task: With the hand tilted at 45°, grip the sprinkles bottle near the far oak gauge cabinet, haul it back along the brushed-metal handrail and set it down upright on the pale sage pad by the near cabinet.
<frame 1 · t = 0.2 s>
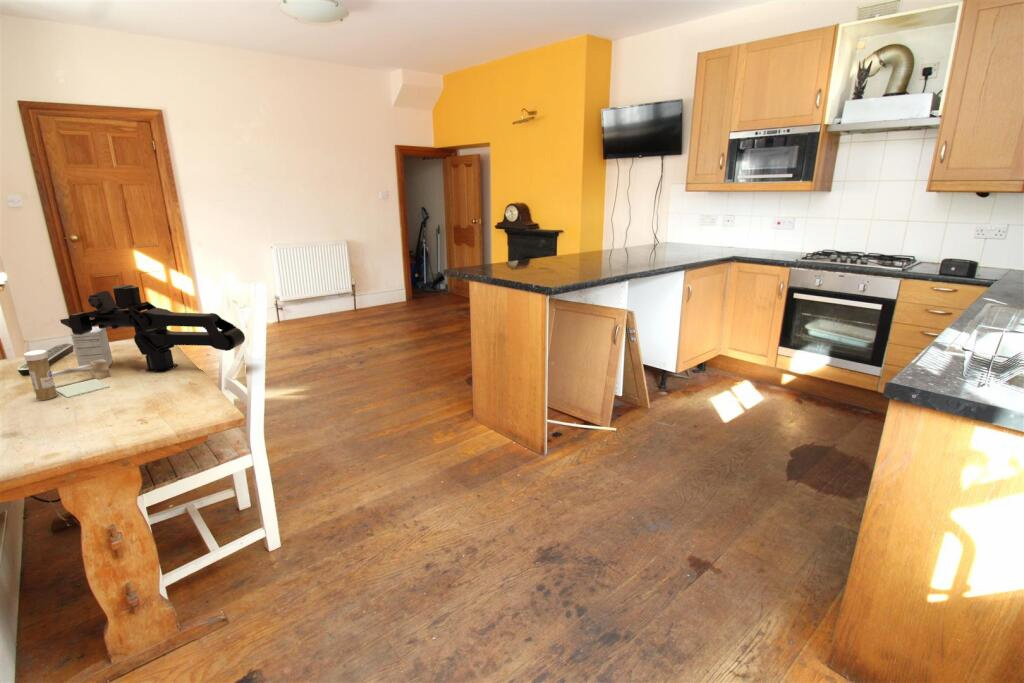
hand: (73, 317, 158), 17 cm above the table, tool horizontal, fingers open, 9 cm apart
handrail: (74, 383, 150), on the table
sprinkles bottle: (47, 398, 139), on the table
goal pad: (82, 388, 146), on the table
supplement box: (97, 366, 164), on the table
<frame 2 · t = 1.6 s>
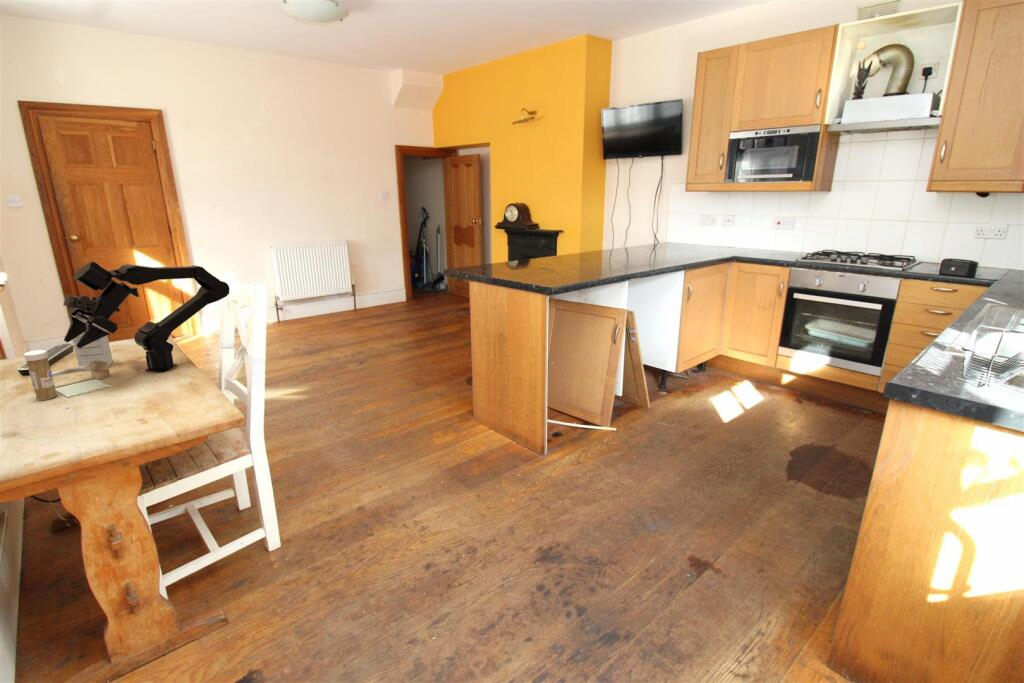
hand: (71, 344, 142), 14 cm above the table, tool tilted 45°, fingers open, 9 cm apart
nothing on the table moved.
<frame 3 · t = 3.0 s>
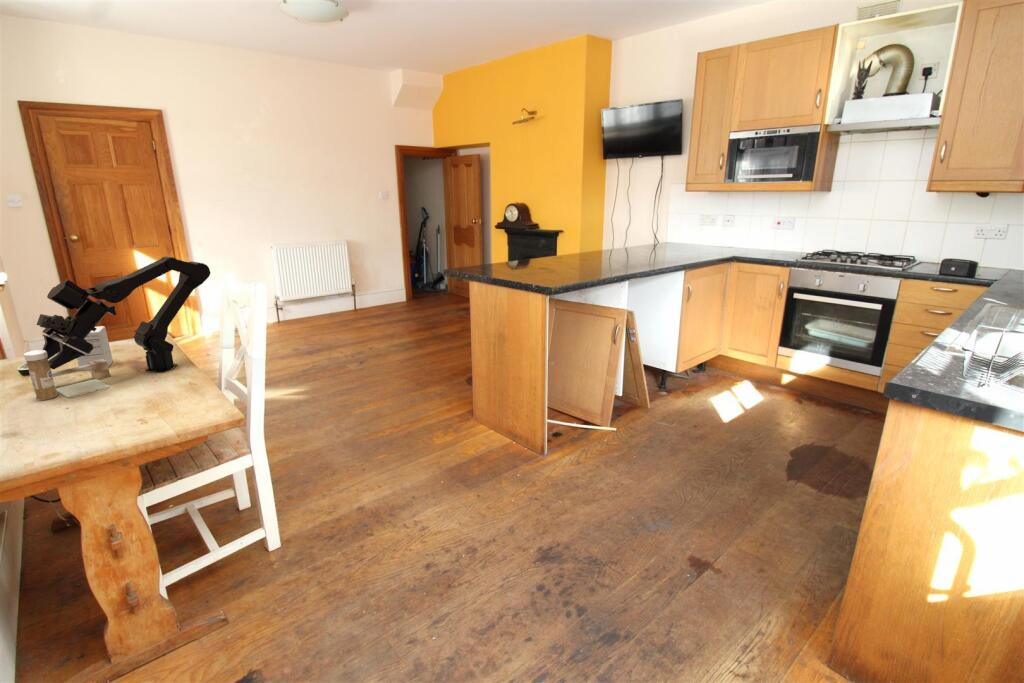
hand: (45, 365, 138), 9 cm above the table, tool tilted 45°, fingers open, 9 cm apart
nothing on the table moved.
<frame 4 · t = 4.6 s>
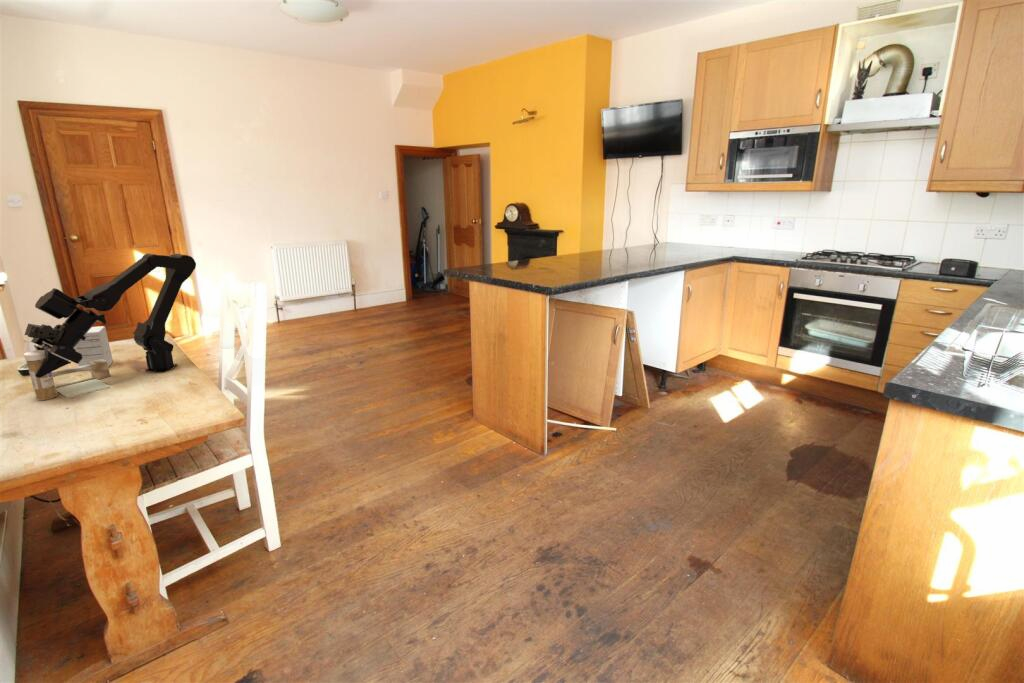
hand: (34, 375, 136), 7 cm above the table, tool tilted 45°, fingers closed on sprinkles bottle, 4 cm apart
sprinkles bottle: (47, 398, 139), on the table, touching gripper
everything else where it was.
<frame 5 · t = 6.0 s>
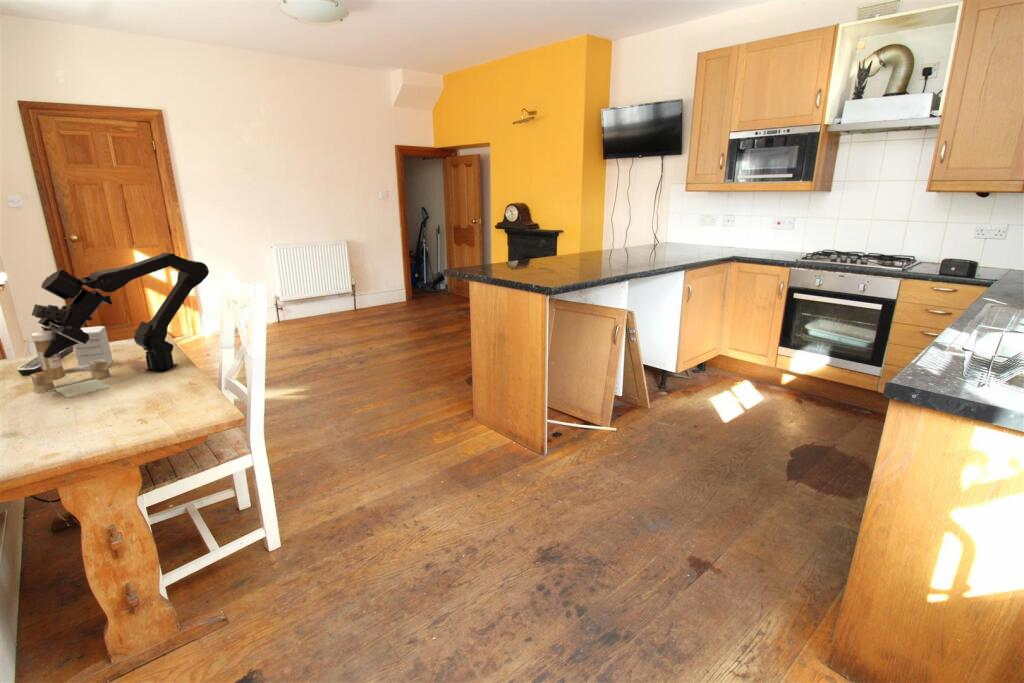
hand: (42, 355, 137), 12 cm above the table, tool tilted 45°, fingers closed on sprinkles bottle, 4 cm apart
sprinkles bottle: (55, 378, 140), point 5 cm above the table, touching gripper
everything else where it was.
when the fingers open (9 cm above the table, at t = 7.9 s): sprinkles bottle drops 1 cm, resting on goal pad.
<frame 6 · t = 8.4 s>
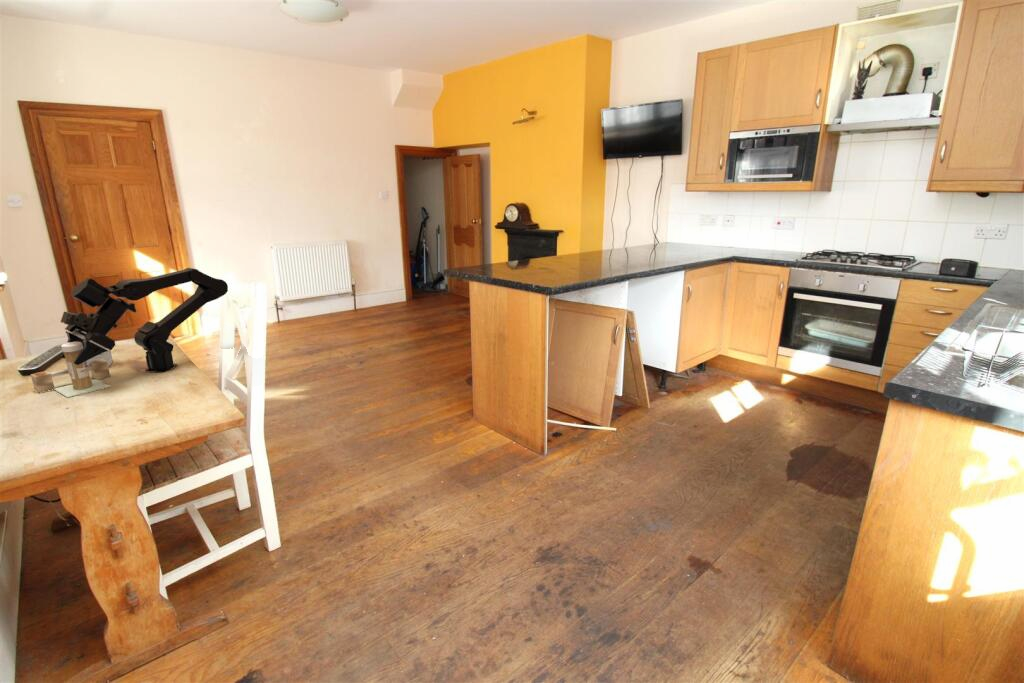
hand: (69, 361, 142), 9 cm above the table, tool tilted 45°, fingers open, 9 cm apart
sprinkles bottle: (83, 387, 146), resting on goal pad
everything else where it was.
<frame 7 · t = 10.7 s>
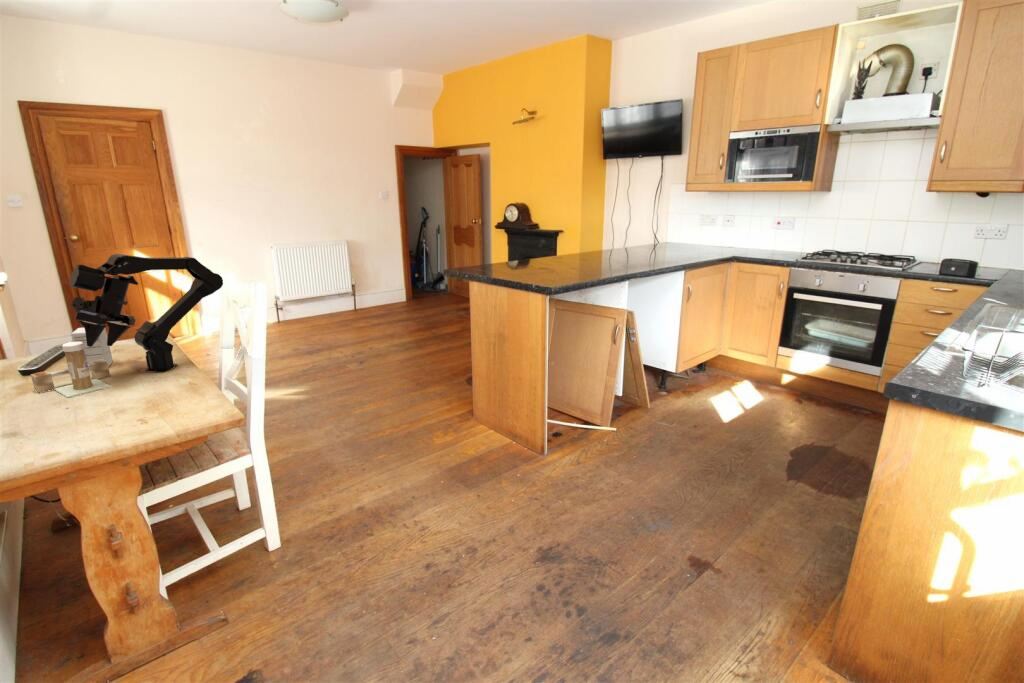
hand: (99, 346, 148), 11 cm above the table, tool tilted 20°, fingers open, 9 cm apart
nothing on the table moved.
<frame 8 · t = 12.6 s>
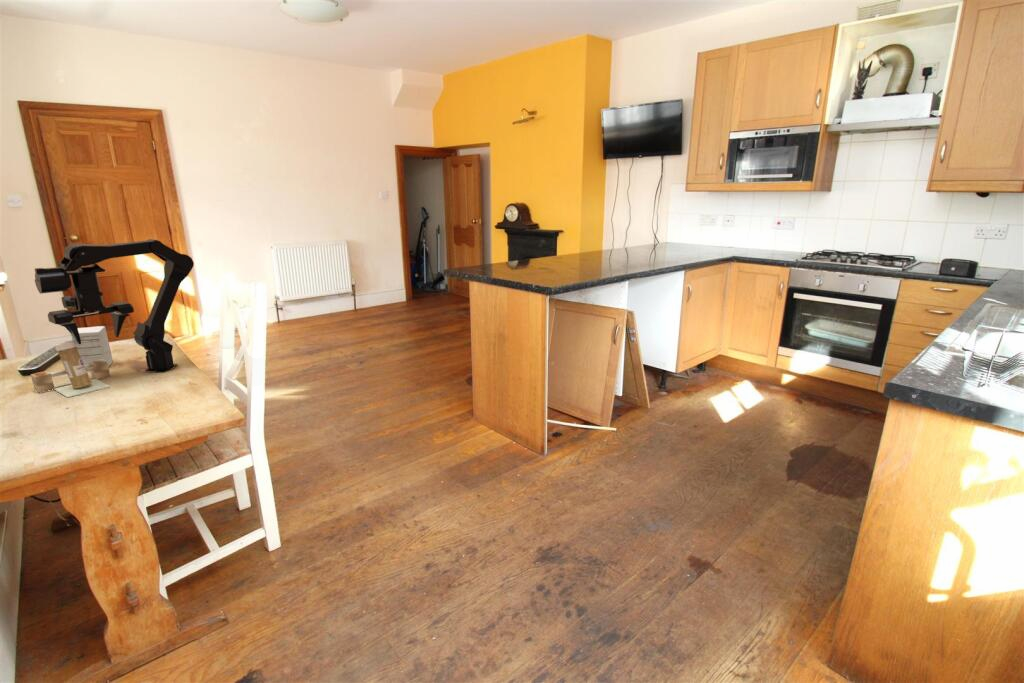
hand: (98, 340, 148), 13 cm above the table, tool pointing down, fingers open, 9 cm apart
sprinkles bottle: (82, 386, 146), point 1 cm above the table, touching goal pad, gripper
everything else where it was.
at the end: sprinkles bottle 0.2 cm from the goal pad (horizontally); sprinkles bottle tilted 11°; the gripper is holding nothing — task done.
